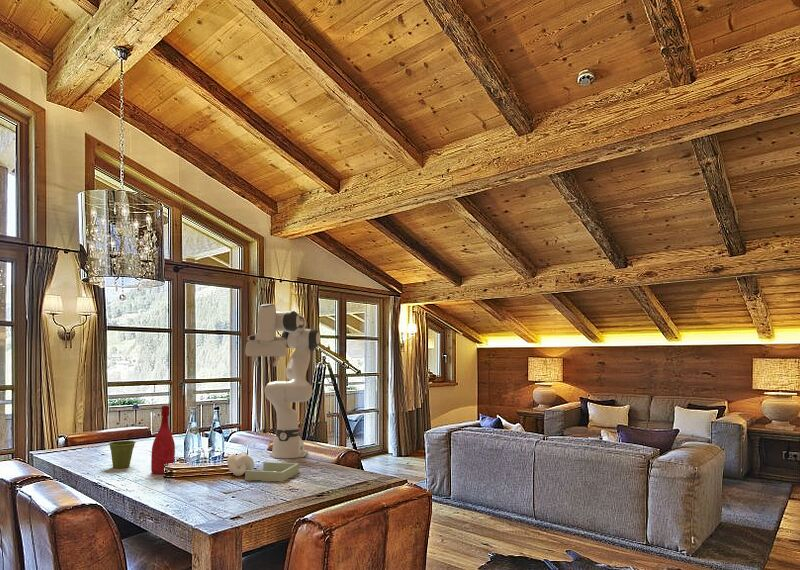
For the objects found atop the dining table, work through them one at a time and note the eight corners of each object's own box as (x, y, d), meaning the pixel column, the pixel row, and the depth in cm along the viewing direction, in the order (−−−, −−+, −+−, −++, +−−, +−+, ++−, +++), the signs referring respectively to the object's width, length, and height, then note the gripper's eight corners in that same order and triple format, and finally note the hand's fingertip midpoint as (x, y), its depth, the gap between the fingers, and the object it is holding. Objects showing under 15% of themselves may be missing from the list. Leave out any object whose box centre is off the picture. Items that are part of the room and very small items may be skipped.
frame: (264, 470, 276) (264, 461, 276) (298, 472, 273) (299, 463, 273) (244, 480, 256) (245, 470, 257) (282, 482, 253) (282, 472, 254)
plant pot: (104, 466, 283) (105, 442, 284) (130, 463, 290) (131, 439, 291) (110, 470, 274) (112, 445, 275) (137, 467, 281) (139, 443, 282)
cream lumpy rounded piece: (238, 478, 260) (239, 457, 261) (219, 475, 266) (219, 454, 267) (257, 473, 270) (257, 453, 271) (237, 470, 276) (238, 451, 276)
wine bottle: (158, 475, 264) (161, 407, 267) (146, 472, 269) (149, 405, 272) (178, 472, 271) (181, 405, 274) (166, 469, 277) (169, 404, 280)
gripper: (289, 337, 289) (288, 366, 288) (249, 337, 293) (248, 365, 292) (284, 337, 283) (283, 366, 282) (244, 336, 287) (243, 365, 285)
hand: (265, 366), depth 287 cm, fingers open, 8 cm apart
